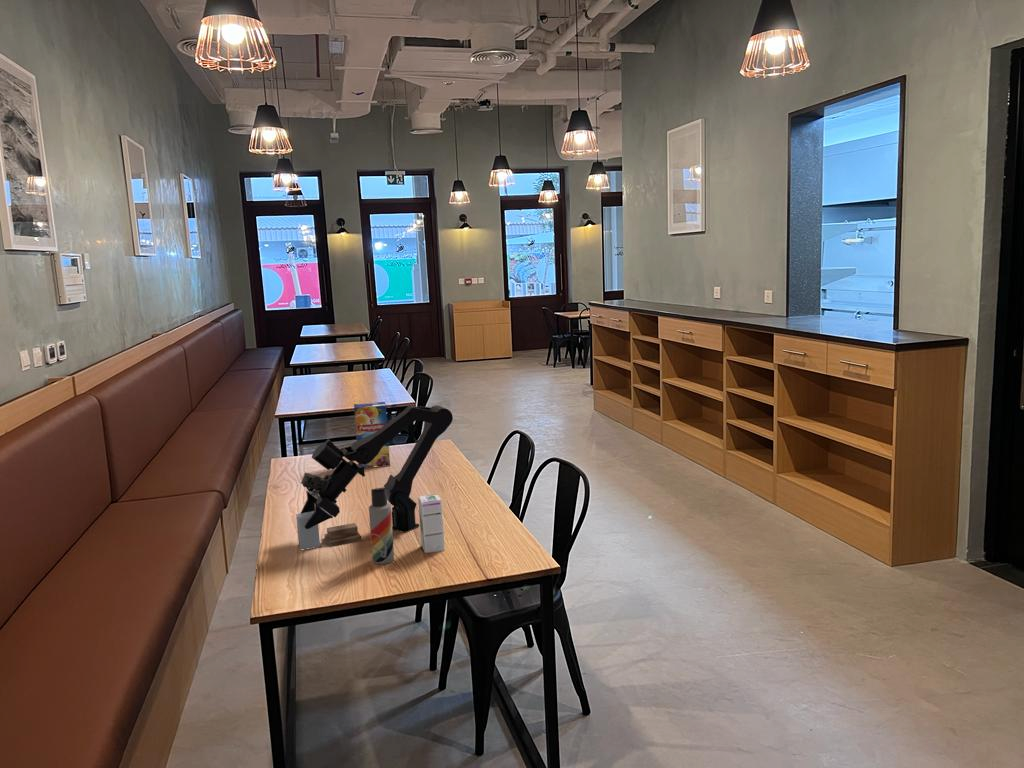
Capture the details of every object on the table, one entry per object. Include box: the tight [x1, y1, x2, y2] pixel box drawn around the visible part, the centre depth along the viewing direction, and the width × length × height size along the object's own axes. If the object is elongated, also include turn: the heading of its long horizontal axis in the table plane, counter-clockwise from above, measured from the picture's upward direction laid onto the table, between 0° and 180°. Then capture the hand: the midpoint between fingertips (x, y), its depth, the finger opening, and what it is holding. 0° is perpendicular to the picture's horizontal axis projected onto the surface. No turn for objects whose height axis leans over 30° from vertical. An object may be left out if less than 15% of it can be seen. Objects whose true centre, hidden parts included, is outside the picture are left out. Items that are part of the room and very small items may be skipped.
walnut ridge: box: [323, 522, 362, 547], centre depth 214 cm, size 9×7×4 cm
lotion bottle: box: [368, 486, 395, 565], centre depth 196 cm, size 6×6×20 cm
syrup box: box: [417, 494, 446, 554], centre depth 204 cm, size 6×6×14 cm
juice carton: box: [353, 401, 391, 469], centre depth 290 cm, size 12×8×24 cm, turn 104°
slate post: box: [295, 511, 321, 550], centre depth 210 cm, size 5×5×9 cm
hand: (302, 523), depth 209 cm, fingers open, 9 cm apart
